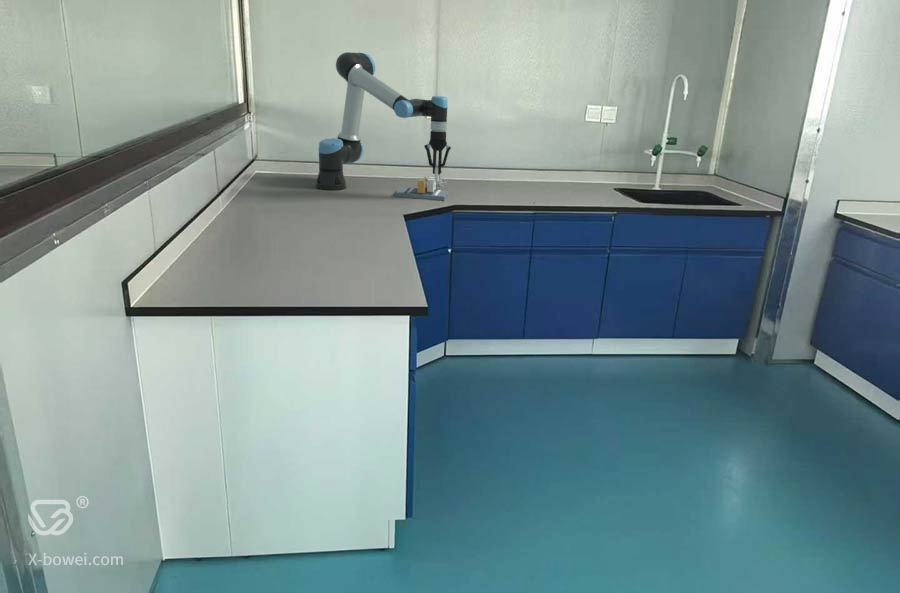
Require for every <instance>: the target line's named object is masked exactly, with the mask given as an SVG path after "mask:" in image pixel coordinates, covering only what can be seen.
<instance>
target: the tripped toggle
mask: <svg viewBox="0 0 900 593" xmlns="http://www.w3.org/2000/svg"><path fill="white" fill-rule="evenodd" d="M417 188H418V193H424V192H425V189H426V181H425V179H419V178H418V180H417Z"/></svg>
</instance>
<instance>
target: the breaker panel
mask: <svg viewBox="0 0 900 593" xmlns="http://www.w3.org/2000/svg"><path fill="white" fill-rule="evenodd" d="M427 183H428V185H426V186H427V187H426V188H425V192H424V193H418V187H407V186H406V187H405V186H401V187H400V188H399V189H398V190H397V191H395V197H398V198H399V197H400V198H411V199H418V200H419V199H421V200H422V199H423V200H431V201H441V200H443V201H445V200H446V199H447V197H448V196H449V190H441V189H437V188H436V187H437V186H436V185H437V183H436V181H435V176H429V178H428V181H427ZM443 201H442V202H443Z"/></svg>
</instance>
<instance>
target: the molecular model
mask: <svg viewBox="0 0 900 593" xmlns="http://www.w3.org/2000/svg"><path fill="white" fill-rule="evenodd" d="M442 172H443V171H442V170H441V174H442ZM441 174H439V179H438V181H436V187H437V186H438V187H439V188H443V187H444V186H443V185H445V184H447V181H446V178H444V177H443V178H442V177H441ZM429 178H430V176H424V180H425V186H427V185H428V179H429ZM442 180H444V181H442Z"/></svg>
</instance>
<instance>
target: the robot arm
mask: <svg viewBox="0 0 900 593" xmlns="http://www.w3.org/2000/svg"><path fill="white" fill-rule="evenodd" d="M335 69H336V71H337V73H338V75H339V76H340V77H341V78H342V79H344V80H345V82H346V83H347V87H346V95H345V100H344V101H345V102H344V109H343V117H342V124H341V132H339V133H338V134H337V138H325V139H322V140H320V141H319V143H318V174H317V178H316V181H315V188H317V189H319V190H326V191H339V190H345V189H346V188H347V182H346V178H345V174H344V171H343V169H344V168H343V167H344V165H345V164H353V163H355V162H358V161H359V160H360V159H361V158H362V157H363V153H364V146H363V144H362V141H361V140H362V139H361V137H360V136H359V132H360V127H361V126H360V124H361V118H362V111H363V103H364V99H365V98H364V97H365V92H367V93H368V94H369V95H371V96H373V97H374V98H376V99H377V100H379V101H380V102H381V103H383V104H384V105H386V106H387V107H389V108H391V110H393V112H394V113H395V115H396V117H399V118H401V119H402V118H403V119H408V118H414V117H416V118H417V117H429V118H430V132H429V133H430V134H429V135H430V136H429V137H430V138H429V141H428V143H427V144H425V145H424V146H423V147H424V149H425V151H426V155H427V162H428V165H429V166H431V167H432V174H433V175H434V177H435V181H438V180H439V174H440V175H441V174H442V173H441V171H442V167H445V166H446V162H447V160H448V156H449V153H450V150H451V149H452V146H451V145H449V144H448V142H447V129H448V128H447V126H448V108H449V106H448V103H449V102H448V97H447V96H442V95H433V96H432V97H431V99H420V98H411V99H408V98H407V97H405V96H404V95H402V94H401V93H399V92H398V91H396V90H395V89H394V88H392V87H390V86H389V85H387V84H386V83H384V82H383V81H381V80H380V79H378V78H377V77H376V76H374V75H375V72H376V63H375V61H374V60H373V58H372V57H371V56H370V55H369V54H367V53H363V52H351V51H350V52H343V53H341V54H339V55H338V57H337V58H336V61H335ZM430 148H431V149H432V150H433V152H432V153H431V150H430ZM444 149H445V154H444V157H443V158H442V155H443V150H444ZM431 154H433V155H431ZM437 154H438V155H437ZM437 156H438V158H437ZM437 159H438V163H437Z"/></svg>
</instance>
